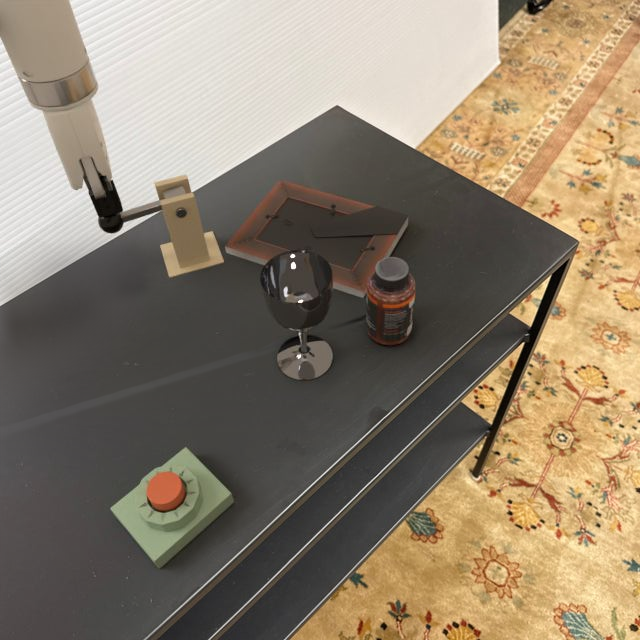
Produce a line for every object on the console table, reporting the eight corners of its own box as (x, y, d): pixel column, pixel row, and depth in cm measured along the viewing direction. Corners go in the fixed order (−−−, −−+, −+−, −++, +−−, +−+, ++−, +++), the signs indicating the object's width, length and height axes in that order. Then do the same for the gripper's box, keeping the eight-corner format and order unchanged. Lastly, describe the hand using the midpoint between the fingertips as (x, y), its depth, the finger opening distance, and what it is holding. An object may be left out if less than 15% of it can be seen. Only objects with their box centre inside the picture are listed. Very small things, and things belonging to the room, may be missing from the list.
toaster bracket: (171, 282, 91) (148, 213, 81) (161, 250, 96) (139, 181, 86) (225, 267, 93) (209, 197, 83) (214, 236, 97) (197, 166, 87)
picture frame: (407, 227, 96) (281, 191, 103) (408, 214, 94) (279, 178, 101) (362, 303, 87) (227, 257, 94) (363, 290, 85) (224, 245, 92)
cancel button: (164, 518, 65) (159, 511, 64) (143, 495, 67) (139, 487, 65) (192, 494, 67) (188, 487, 65) (171, 472, 68) (167, 464, 67)
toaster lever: (105, 241, 85) (95, 223, 82) (101, 226, 87) (92, 208, 84) (192, 213, 86) (186, 194, 84) (187, 198, 88) (181, 180, 86)
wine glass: (277, 387, 79) (263, 307, 67) (270, 337, 84) (256, 255, 73) (341, 377, 80) (338, 296, 68) (330, 328, 85) (326, 245, 73)
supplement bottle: (421, 333, 83) (428, 272, 75) (384, 355, 81) (388, 295, 73) (392, 305, 87) (396, 243, 78) (356, 325, 85) (356, 264, 76)
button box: (159, 569, 65) (149, 555, 62) (115, 516, 69) (104, 500, 66) (234, 502, 70) (229, 485, 67) (189, 455, 74) (182, 438, 70)
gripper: (19, 55, 73) (75, 184, 87) (27, 125, 64) (88, 256, 78) (85, 41, 75) (130, 171, 89) (102, 107, 65) (149, 240, 80)
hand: (110, 210), depth 83 cm, fingers closed
